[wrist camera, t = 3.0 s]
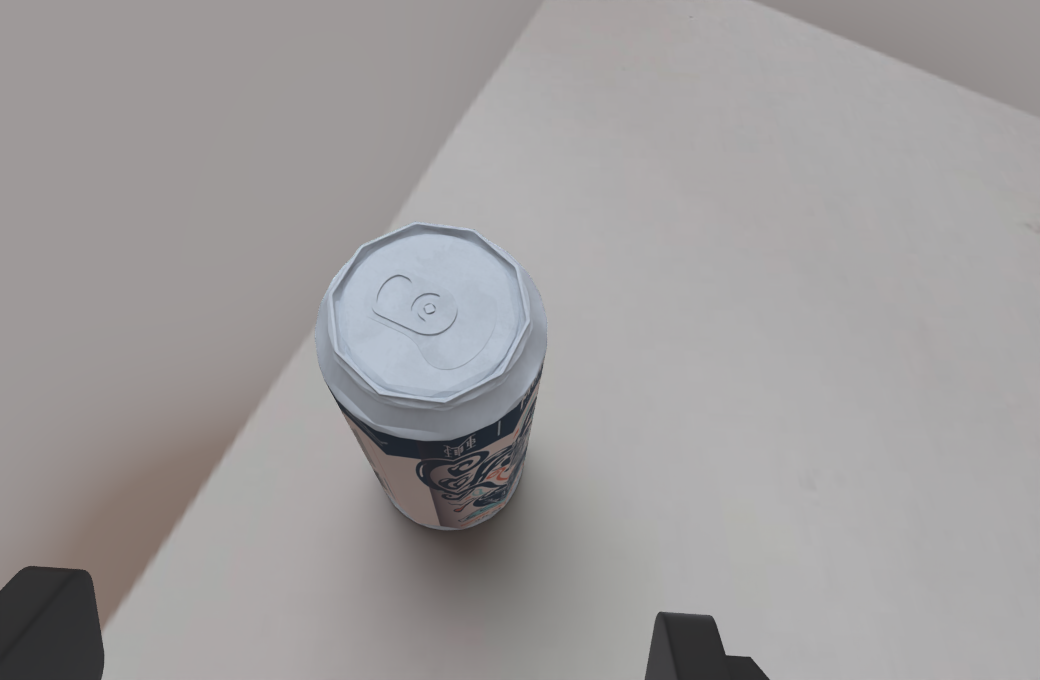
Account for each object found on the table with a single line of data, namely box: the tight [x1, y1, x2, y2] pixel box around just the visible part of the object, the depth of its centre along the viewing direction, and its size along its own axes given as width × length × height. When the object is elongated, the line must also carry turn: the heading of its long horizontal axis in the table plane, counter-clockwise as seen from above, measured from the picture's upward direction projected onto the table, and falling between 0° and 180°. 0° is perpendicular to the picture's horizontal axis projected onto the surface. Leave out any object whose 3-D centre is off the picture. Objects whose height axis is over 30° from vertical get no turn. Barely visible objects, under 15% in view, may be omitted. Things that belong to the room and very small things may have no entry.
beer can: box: [315, 221, 547, 530], centre depth 21 cm, size 5×5×12 cm
